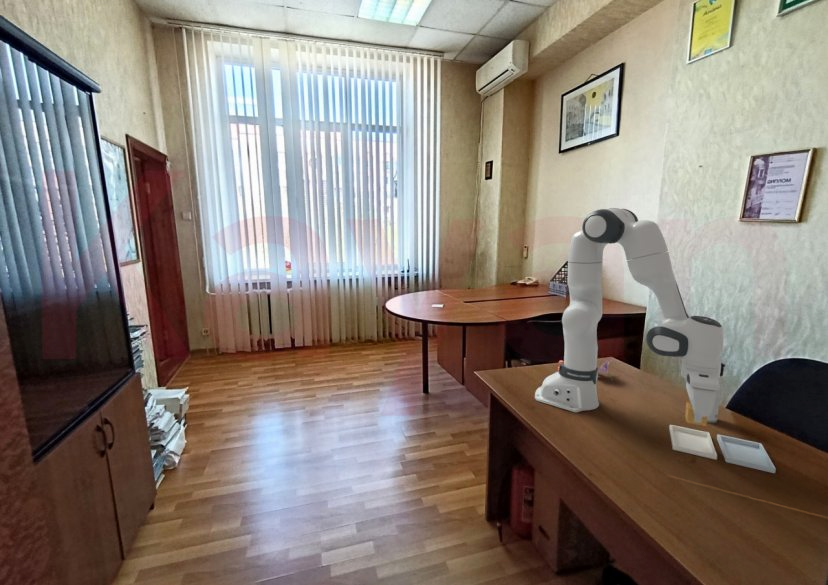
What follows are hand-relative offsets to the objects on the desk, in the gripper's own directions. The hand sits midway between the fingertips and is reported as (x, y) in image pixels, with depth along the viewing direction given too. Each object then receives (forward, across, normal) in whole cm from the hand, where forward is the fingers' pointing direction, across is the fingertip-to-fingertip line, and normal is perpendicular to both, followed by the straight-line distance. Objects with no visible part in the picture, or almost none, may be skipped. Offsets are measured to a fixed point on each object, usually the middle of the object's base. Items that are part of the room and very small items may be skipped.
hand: (695, 416), depth 108 cm
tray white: (+9, 0, 0) cm, 9 cm away
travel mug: (+9, -20, +6) cm, 22 cm away
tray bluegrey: (+9, 0, +12) cm, 15 cm away
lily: (+9, -42, -27) cm, 51 cm away
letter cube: (+1, 0, 0) cm, 1 cm away
